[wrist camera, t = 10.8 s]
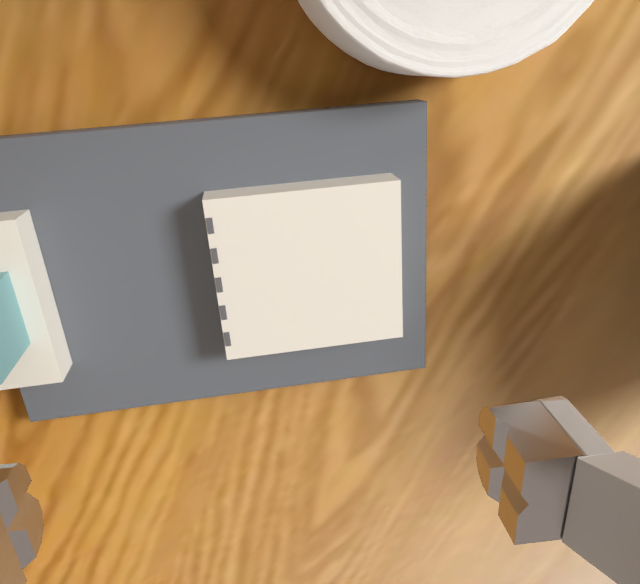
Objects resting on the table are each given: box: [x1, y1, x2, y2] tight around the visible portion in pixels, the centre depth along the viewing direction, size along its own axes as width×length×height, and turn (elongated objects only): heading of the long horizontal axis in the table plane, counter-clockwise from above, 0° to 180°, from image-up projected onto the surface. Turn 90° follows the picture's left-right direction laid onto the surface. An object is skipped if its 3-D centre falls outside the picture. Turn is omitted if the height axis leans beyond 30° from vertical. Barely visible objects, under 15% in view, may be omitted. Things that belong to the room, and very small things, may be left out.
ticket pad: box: [202, 173, 403, 360], centre depth 31 cm, size 9×10×2 cm
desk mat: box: [0, 100, 427, 422], centre depth 32 cm, size 16×24×2 cm, turn 94°
